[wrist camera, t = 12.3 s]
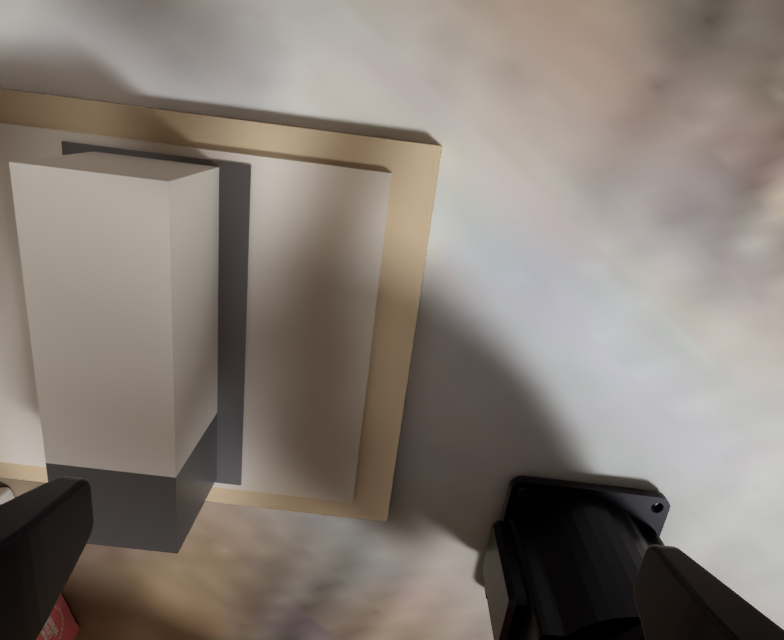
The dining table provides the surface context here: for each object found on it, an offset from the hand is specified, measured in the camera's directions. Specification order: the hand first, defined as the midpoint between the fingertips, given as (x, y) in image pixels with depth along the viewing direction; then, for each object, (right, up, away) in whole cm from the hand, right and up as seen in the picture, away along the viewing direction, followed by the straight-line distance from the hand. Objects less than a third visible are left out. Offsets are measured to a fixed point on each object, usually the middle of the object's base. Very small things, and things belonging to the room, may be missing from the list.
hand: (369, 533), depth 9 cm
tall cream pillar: (-8, +3, +11) cm, 14 cm away
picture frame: (-9, +3, +12) cm, 15 cm away
